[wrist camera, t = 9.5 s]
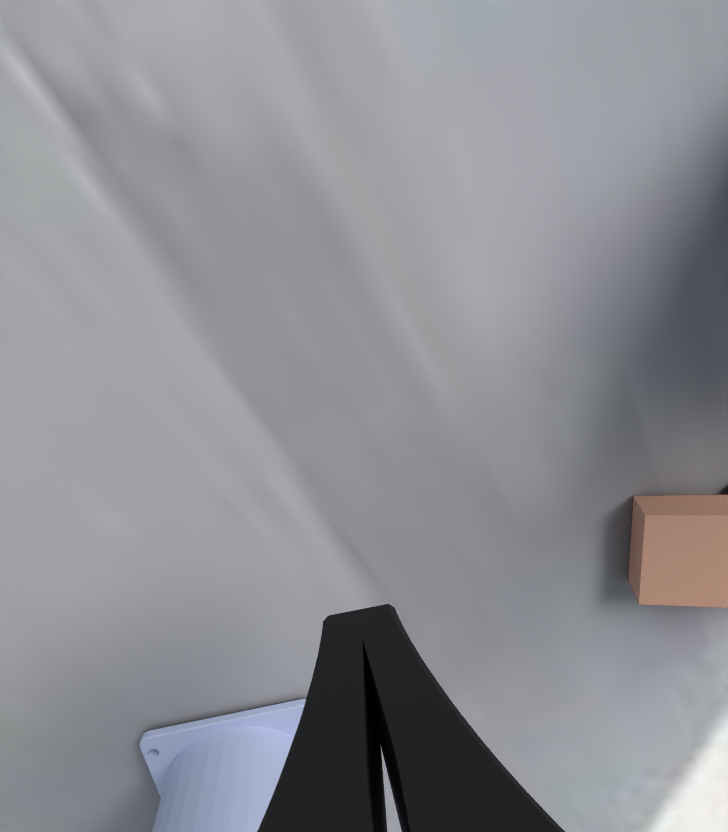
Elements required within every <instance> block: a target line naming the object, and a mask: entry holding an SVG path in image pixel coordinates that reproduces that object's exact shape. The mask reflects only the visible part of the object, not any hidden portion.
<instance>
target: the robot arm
mask: <svg viewBox="0 0 728 832" xmlns="http://www.w3.org/2000/svg"><path fill="white" fill-rule="evenodd" d="M139 746H140V749H141V752H142V754H143V756H144V759H145V761H146V764H147V766H148V768H149V771H150V773H151V776H152V778H153V780H154V783H155V785H156V788H157V790H158V792H159V795H160V797H161V800H160V804H159V808H158V811H157V815H156V819H155V823H154V827H153V830H152V832H387V823H386V809H385V796H384V783H383V769H382V756H381V747H382V752H383V756H384V760H385V764H386V768H387V772H388V776H389V780H390V785H391V789H392V793H393V797H394V801H395V805H396V809H397V813H398V817H399V822H400V826H401V830H402V832H565V831H564V830H563V829H562V828H561V827H560V826H559V825H558V824H557V823H556V822H555V821H554V820H553V819H552V818H551V817H550V816H549V815H548V814H547V813H546V812H545V811H544V810H543V808H542V807H541V806H540V805H539V804H538V803H537V802H536V801H535V800H534V799H533V798H532V797H531V796H530V795H529V794H528V793H527V792H526V790H525V789H524V788H523V787H522V786H521V785H520V784H519V783H518V782H517V780H516V779H515V778H514V777H513V776H512V775H511V774H510V773H509V772H508V770H507V769H506V768H505V767H504V766H503V765H502V764H501V762H500V761H499V760H498V759H497V758H496V757H495V755H494V754H493V753H492V752H491V751H490V750H489V748H488V747H487V746H486V745H485V744H484V742H483V741H482V740H481V739H480V737H479V736H478V735H477V734H476V732H475V731H474V730H473V729H472V727H471V726H470V725H469V724H468V722H467V721H466V720H465V719H464V717H463V716H462V715H461V713H460V712H459V711H458V709H457V708H456V707H455V705H454V704H453V703H452V701H451V700H450V699H449V697H448V696H447V695H446V693H445V692H444V690H443V689H442V687H441V686H440V685H439V683H438V682H437V680H436V679H435V677H434V676H433V675H432V673H431V672H430V670H429V669H428V667H427V666H426V664H425V663H424V661H423V660H422V658H421V657H420V655H419V653H418V652H417V650H416V648H415V647H414V645H413V643H412V642H411V640H410V638H409V636H408V635H407V633H406V631H405V629H404V627H403V625H402V623H401V621H400V619H399V617H398V615H397V613H396V610H395V608H394V607H393V606H391V605H389V604H386V605H381V606H376V607H370V608H365V609H360V610H355V611H350V612H345V613H340V614H335V615H329V616H327V618H326V619H325V620H324V621H323V629H322V636H321V642H320V648H319V652H318V657H317V661H316V665H315V669H314V673H313V677H312V681H311V685H310V688H309V691H308V695H307V698H306V699H300V700H295V701H290V702H285V703H280V704H276V705H271V706H266V707H261V708H256V709H251V710H246V711H242V712H237V713H232V714H227V715H222V716H217V717H212V718H208V719H203V720H198V721H193V722H188V723H183V724H178V725H174V726H169V727H164V728H159V729H154V730H150V731H147V732H145V733H144V734H143V735H142V737H141V740H140V743H139Z"/></svg>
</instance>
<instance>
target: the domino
mask: <svg viewBox="0 0 728 832" xmlns="http://www.w3.org/2000/svg"><path fill="white" fill-rule="evenodd" d="M628 581H629V583H630V586H631V588H632V590H633V592H634V595H635V597H636V599H637V601H638V604H642V605H668V606H694V607H720V608H728V495H665V496H633V511H632V527H631V543H630V558H629V574H628Z"/></svg>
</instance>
